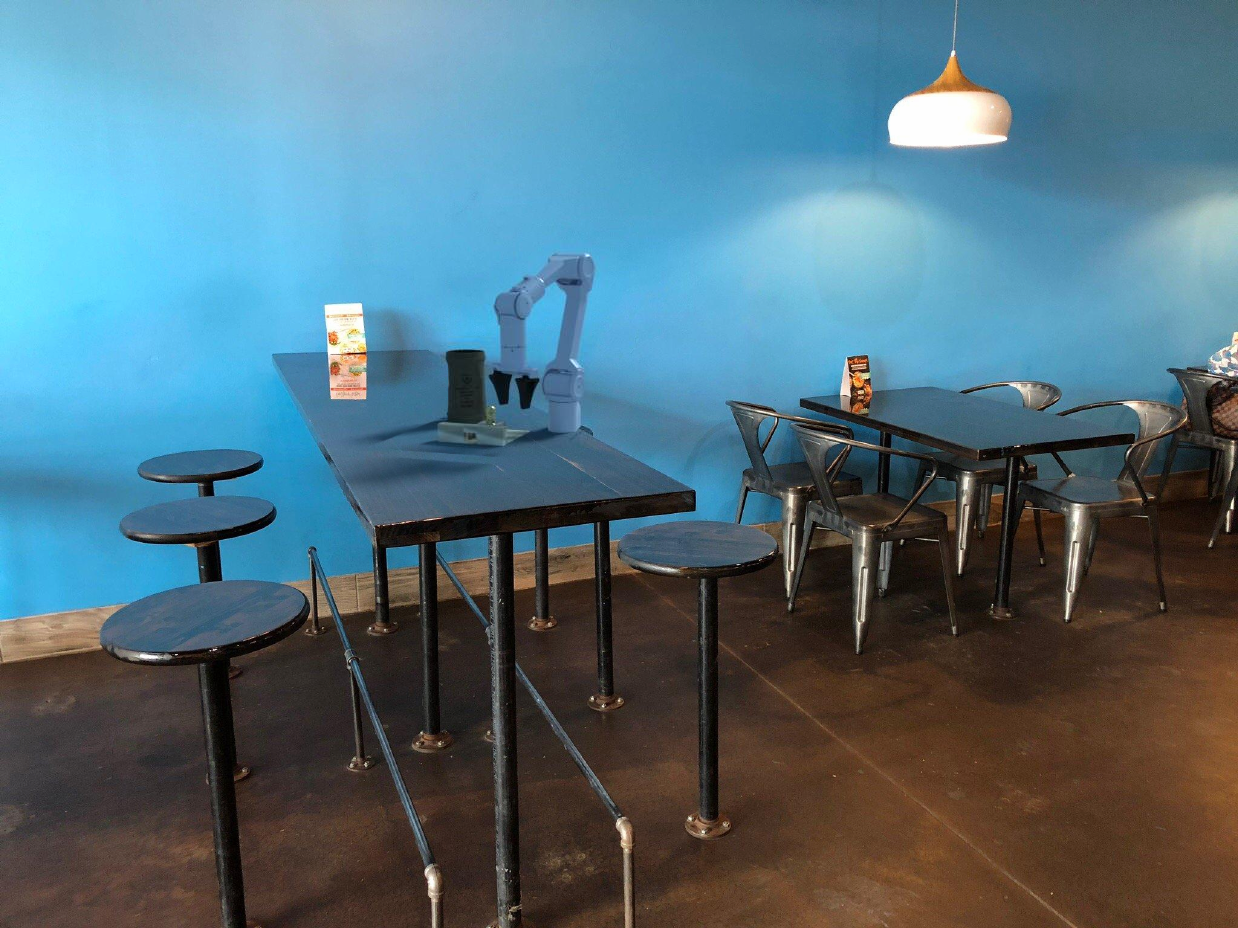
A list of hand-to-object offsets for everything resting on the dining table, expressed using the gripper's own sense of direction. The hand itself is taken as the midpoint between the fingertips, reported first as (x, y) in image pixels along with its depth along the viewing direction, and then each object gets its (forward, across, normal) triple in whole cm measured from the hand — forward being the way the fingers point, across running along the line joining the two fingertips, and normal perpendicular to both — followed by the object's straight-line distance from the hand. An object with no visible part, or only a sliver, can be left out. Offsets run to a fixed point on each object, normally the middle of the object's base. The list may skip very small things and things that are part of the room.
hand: (514, 406), depth 214 cm
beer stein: (+10, -32, +10) cm, 35 cm away
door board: (+10, -11, 0) cm, 15 cm away
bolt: (+9, -12, +1) cm, 15 cm away
